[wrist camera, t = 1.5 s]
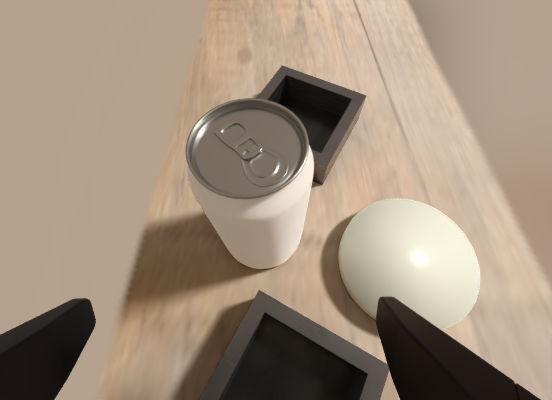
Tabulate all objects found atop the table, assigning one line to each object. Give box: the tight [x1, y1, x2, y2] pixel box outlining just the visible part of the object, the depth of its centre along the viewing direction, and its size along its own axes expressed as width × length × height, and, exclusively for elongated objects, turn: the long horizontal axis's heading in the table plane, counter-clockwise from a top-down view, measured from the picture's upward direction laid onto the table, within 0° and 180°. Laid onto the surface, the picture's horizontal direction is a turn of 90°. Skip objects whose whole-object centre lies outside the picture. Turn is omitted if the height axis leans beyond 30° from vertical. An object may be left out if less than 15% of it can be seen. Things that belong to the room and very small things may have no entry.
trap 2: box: [199, 290, 389, 400], centre depth 17 cm, size 9×9×3 cm
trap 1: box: [256, 66, 366, 185], centre depth 26 cm, size 9×9×3 cm
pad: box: [338, 198, 480, 330], centre depth 21 cm, size 10×10×2 cm
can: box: [186, 98, 314, 269], centre depth 18 cm, size 6×6×12 cm
